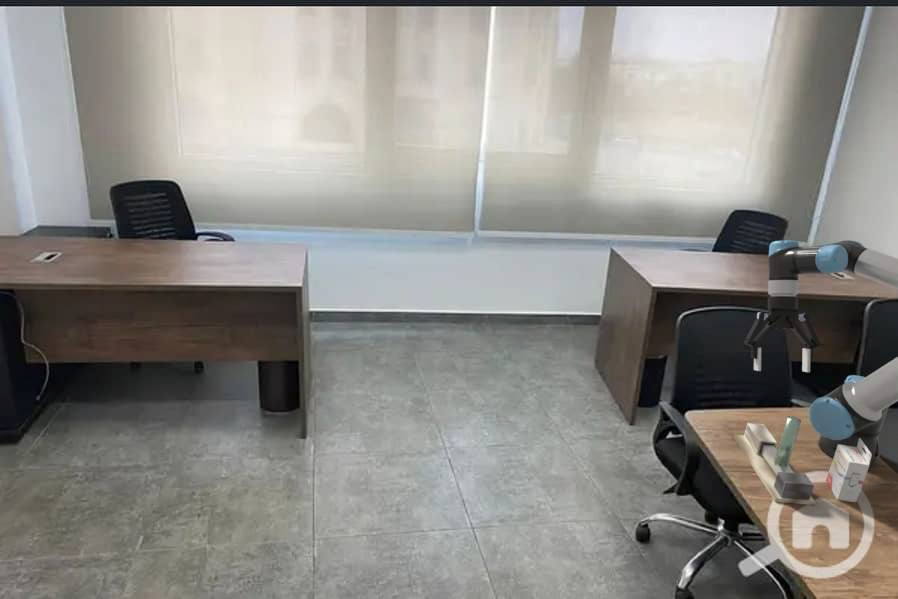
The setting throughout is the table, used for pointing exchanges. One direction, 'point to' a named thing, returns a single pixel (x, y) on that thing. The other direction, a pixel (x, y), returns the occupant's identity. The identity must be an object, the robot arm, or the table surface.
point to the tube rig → (779, 485)
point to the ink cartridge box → (848, 471)
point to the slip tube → (782, 447)
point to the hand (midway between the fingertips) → (781, 371)
